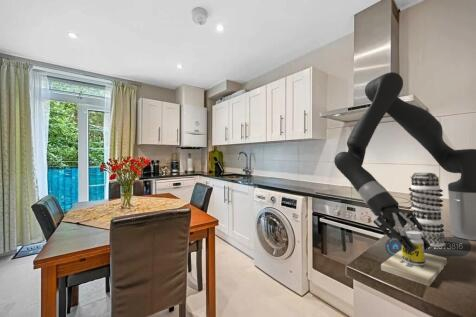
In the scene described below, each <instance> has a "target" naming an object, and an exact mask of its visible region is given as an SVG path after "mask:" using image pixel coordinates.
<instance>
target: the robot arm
mask: <svg viewBox="0 0 476 317" xmlns="http://www.w3.org/2000/svg"><path fill="white" fill-rule="evenodd" d="M403 87H404V80H403V77H402V76H401V75H400V74H399V73H398V72H393V71H391V72H386V73H384V74H382V75H380V76H378V77H376V78H374V79H372V80H370V81H369V82H368V83H367V84H366V85H365V87H364V93H365V97H366V98H367V99H368V100H369V101H370V102H371V103H370V105H369V106H368V108H367V109H366V110H365V112H364V113H363V114H362V116H361V117H360V118H359V119H358V121H357V122H356V124H354V126H353V129H352V130H351V132H350V134H349V136H348V139H347V141H346V146H347V149H348V151H341V152H339V153H337V154H336V155H335V157H334V160H333V162H334V165H335V168H337V169H338V171H339V172H340V173H341V174H342V175H343V177H345V178H346V179H347V180H348V181H349V183H350V184H351V185H352V187H353V188H354V189H355V191H356V192H357V193H358V195H359V196H360V199H361V200H362V201H363V203H365V205H367V207H368V209H369V210H370V211H371V212H372V214H373V216H375V217H376V218H375V219H374V220H373V221H372V222H373V223H374V224H375V226H377V227H378V229H380V231H382V233H384V234H385V235H386V236H387V237H388V238H389V239H395V240H397V241H398V243H400V244H401V247H402V246H403V247H404V248H405V249H406V250H407V251H408V252H413V251H415V250H416V247H415V246H414V245H413V244H412V243H411V241H410V240H409V239H408V238H407V236H404V233H403V230H405V229H409V230H416V231H419V232H421V231H423V230H424V229H423V227H422V226H421V224H420V223H419V222H418V220H417V219H416V217H415V216H414V214H413V212H408V213H405V212H404V211H403V210H401V209H400V208H399V202H398V201H397V200H396V199H395V198H394V197H393V195H392V194H391V193H390V192H389V191H388V190H387V189H386V188H385V186H383V185H382V184H381V183H380V182H379V181H378V180H377V179H376V178H375V177H374V176H373V175H372V173H370V172H369V171H368V170H366V169H365V168H364V167H363V164H364V160H365V155H366V153H367V152H366V151H367V148H368V146H369V144H370V142H371V140H372V138H373V135H374V134H375V132H376V130H377V127H378V126H379V124H380V122H381V120H383V118H384V116H385V115H386V113H387V115H388V116H390V117H391V119H393V120H394V121H395V122H396V123H397V124H398V125H400V126H401V127H402V128H403V130H405V131H406V132H407V134H409V135H410V136H411V137H412V138H413V139H415V140H416V141H417V142H418V143H419V144H420V145H421V146H422V147H423V148H424V149H425V150H426V151H427V152H428V153H429V154H430V155H431V156H432V158H433V159H434V160H435V161H436V162H437V163H438V165H439V166H440V167H441V168H442V169H443V170H444V171H445V172H448V173H451V174H460V178H459V179H458V180H456V181H452V182H450V183H448V184H447V190H448V192H447V193H448V204H449V217H450V218H449V220H450V234H451V236H454V237H456V238H460V239H464V240H468V241H469V240H471V241H476V148H463V149H453V148H452V147H451V146H449V145H448V144H447V143H446V142H445V141H444V137H443V133H444V132H443V126H442V124H441V122H440V121H439V120H438V119H437V118H436V117H435V116H434V115H433V114H432V113H431V112H429V111H428V110H426V109H424V108H422V107H419V106H417V105H414V104H412V103H409V102H406V101H404V100H403V99H401V98H400V97H399V95H400V93H401V91H402V89H403ZM415 225H416V226H417V227H418V228H416V227H415ZM421 236H422V235H421ZM421 239H422V240H423V242H424V251H425V250H428V249H429V248H431V247H432V246H430V244H429V242H428V241H427V240H426V239H425V238H424V237H423V236H422V238H421Z"/></svg>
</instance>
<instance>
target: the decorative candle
mask: <svg viewBox="0 0 476 317" xmlns="http://www.w3.org/2000/svg"><path fill="white" fill-rule="evenodd" d="M410 178H411V179H410V181H411V185H410V187H409V188H408V190H409V192H410V193H409V196H410V197H409V200H410V201H411V202H410V205H411V209H412V213H413V214H414V216H415V217H416V219H417V220H418V222H419V223H420V224H421V226H422V227H423V229H424V230H423V231H421V235H422V236H423V237H424V238H425V239H426V240H427V241H428V242H429V244H430V246H431V247H434V248H436V247H438V248H440V247H445V245H446V243H445V241H446V240H445V234H444V231H445V230H444V224H443V219H442V212H443V209H442V207H444V204H442V203H443V202H444V200H443V199H441V198H440V197H443V196H444V194H442V193H443V192H444V190H443V189H442V188H441V186H440V179H439V178H440V177H439V176H437V174H436V173H434V172H414V173H413V174H412V175H411V176H410ZM415 227H416V228H418V227H417V226H416V225H415Z"/></svg>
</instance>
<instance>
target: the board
mask: <svg viewBox="0 0 476 317" xmlns="http://www.w3.org/2000/svg"><path fill="white" fill-rule="evenodd" d="M447 260H448V259H447V257H443V256H440V255H435V254H431V253H426V252H424V262H425V263H424V265H421V266H418V265H412V264H409V263H406V262H405V261H403V259H402V248H401V249H400V250H398V251H397V252H396V253H394V254H393V255H392V256H391V257H389V258H388V259H387V260H385V261H383V262H382V263H381V264H380V270H381V271H384V272H386V273H389V274H392V275H394V276H398V277H400V278H403V279H406V280H409V281H412V282H416V283H418V284H421V285H425V286H426V287H430V286H431V285H432V284H433V282H435V280H436V278H437V277H438V275H439V274H440V273H441V272H442V271H441V270H444V268H445V267H446V265H447V264H448V262H447ZM444 266H445V267H444Z"/></svg>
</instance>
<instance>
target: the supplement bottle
mask: <svg viewBox="0 0 476 317" xmlns="http://www.w3.org/2000/svg"><path fill="white" fill-rule="evenodd" d="M409 229H410V228H409ZM409 229H405V230H402V231H403V233H404V236H407V238H408V239H409V240H410V241H411V243H412V244H413V245H414V246H415V247H416V250H415V251H413V252H408V251H407V250H406V249H405V248H404V247H403V246H402V245H401V249H402V259H403V261H405V262H406V263H409V264H412V265H418V266H421V265H424V263H425V262H424V253H425V250H424V242H423V240H422V239H421V238H422V236H421V232H419V231H416V230H412V229H410V230H409Z"/></svg>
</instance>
